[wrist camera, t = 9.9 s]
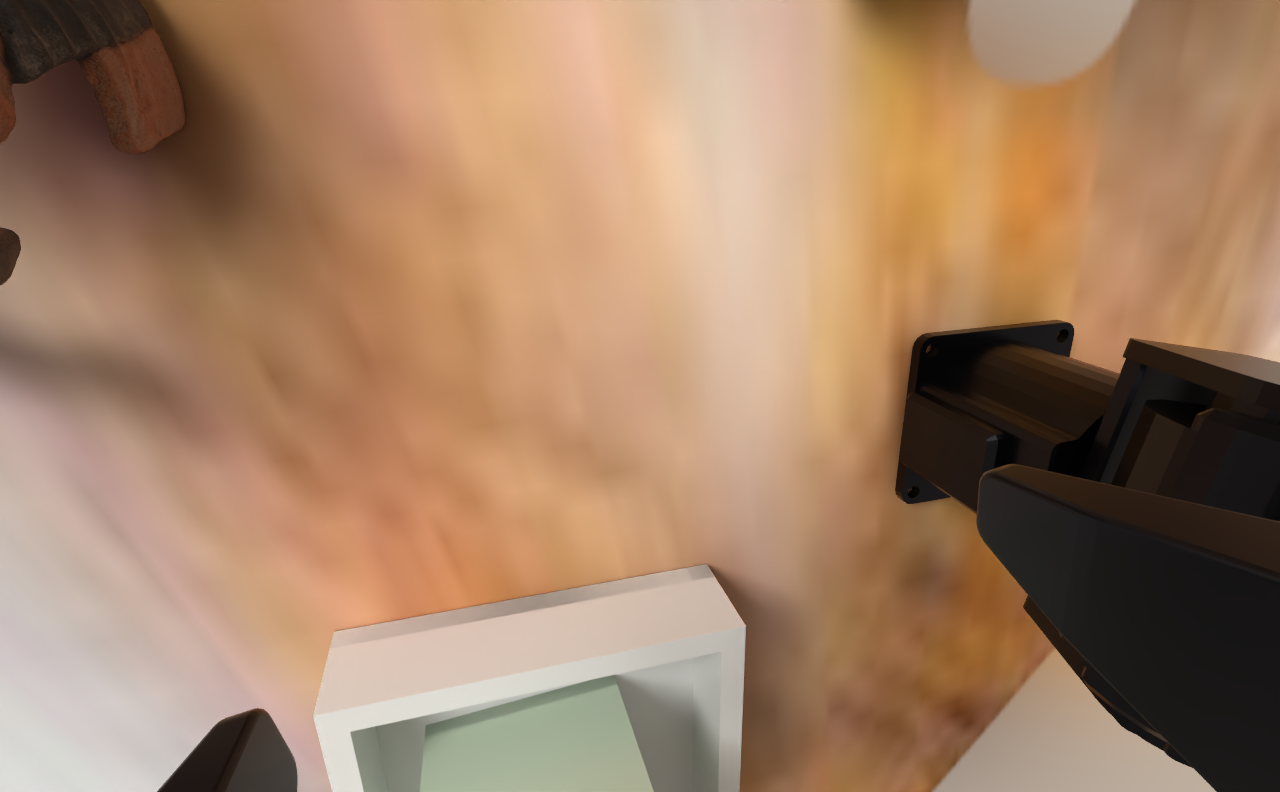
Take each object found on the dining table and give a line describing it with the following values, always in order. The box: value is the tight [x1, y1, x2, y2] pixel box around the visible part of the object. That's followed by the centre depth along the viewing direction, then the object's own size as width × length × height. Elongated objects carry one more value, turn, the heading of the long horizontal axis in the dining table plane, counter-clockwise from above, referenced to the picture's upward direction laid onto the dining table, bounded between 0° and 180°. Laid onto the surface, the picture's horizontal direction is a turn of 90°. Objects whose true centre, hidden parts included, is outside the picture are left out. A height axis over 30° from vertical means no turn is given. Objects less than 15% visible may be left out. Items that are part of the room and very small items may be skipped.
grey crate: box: [313, 564, 746, 792], centre depth 23 cm, size 13×13×4 cm
